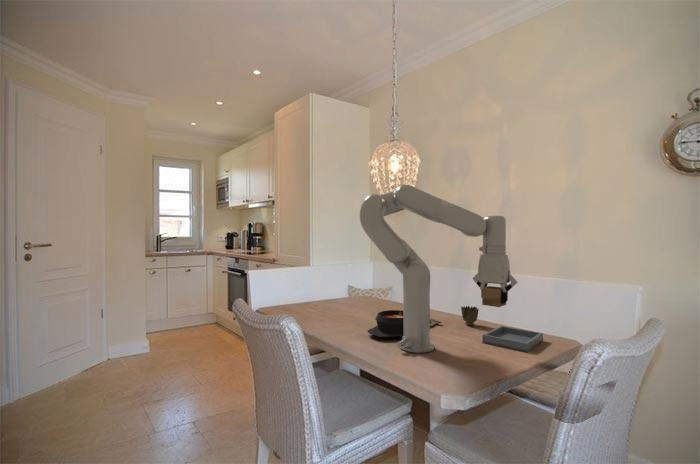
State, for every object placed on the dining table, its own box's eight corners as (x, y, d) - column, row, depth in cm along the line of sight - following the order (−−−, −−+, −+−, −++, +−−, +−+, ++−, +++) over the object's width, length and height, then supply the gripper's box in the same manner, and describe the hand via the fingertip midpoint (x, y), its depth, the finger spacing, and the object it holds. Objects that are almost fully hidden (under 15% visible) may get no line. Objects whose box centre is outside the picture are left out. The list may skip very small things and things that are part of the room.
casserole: (402, 324, 165) (402, 306, 165) (433, 334, 150) (433, 313, 150) (357, 334, 150) (357, 313, 150) (387, 345, 135) (387, 322, 135)
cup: (480, 327, 160) (480, 309, 160) (464, 327, 160) (464, 309, 160) (475, 323, 167) (475, 305, 167) (459, 323, 167) (459, 305, 167)
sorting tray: (527, 352, 127) (527, 343, 127) (482, 342, 138) (482, 334, 138) (542, 341, 140) (542, 333, 140) (500, 333, 151) (500, 325, 151)
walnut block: (499, 307, 124) (499, 289, 124) (482, 304, 128) (482, 287, 128) (506, 304, 128) (506, 287, 128) (489, 302, 133) (489, 285, 133)
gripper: (466, 250, 132) (466, 300, 132) (515, 252, 120) (515, 307, 120) (475, 249, 137) (475, 297, 137) (523, 251, 125) (523, 303, 125)
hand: (494, 301), depth 128 cm, fingers closed on walnut block, 6 cm apart
